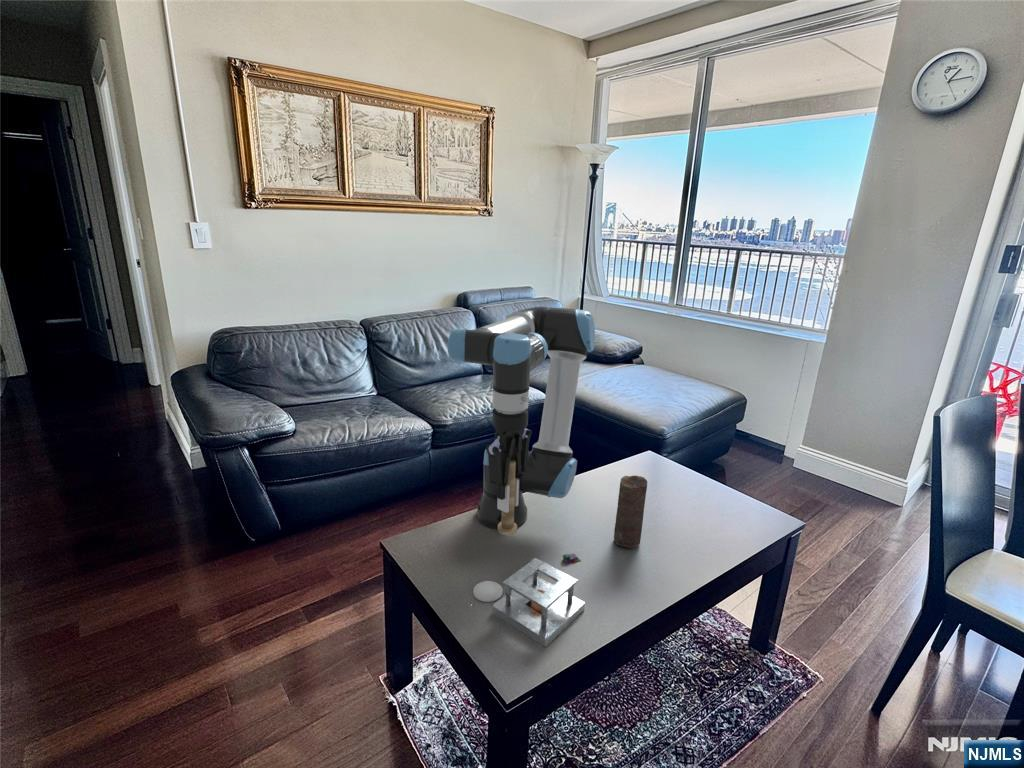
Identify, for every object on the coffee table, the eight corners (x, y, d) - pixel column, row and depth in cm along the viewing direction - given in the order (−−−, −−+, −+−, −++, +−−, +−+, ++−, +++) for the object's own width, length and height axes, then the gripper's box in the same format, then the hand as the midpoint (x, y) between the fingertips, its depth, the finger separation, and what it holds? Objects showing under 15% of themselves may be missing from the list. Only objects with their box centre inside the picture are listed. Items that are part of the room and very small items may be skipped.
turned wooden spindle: (493, 530, 117) (495, 462, 112) (505, 522, 121) (507, 455, 116) (509, 537, 115) (511, 468, 110) (520, 529, 118) (523, 461, 113)
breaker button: (527, 610, 118) (528, 595, 117) (537, 602, 121) (538, 587, 120) (540, 618, 116) (541, 603, 115) (549, 609, 119) (550, 594, 118)
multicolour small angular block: (569, 567, 135) (569, 559, 135) (563, 560, 138) (563, 553, 137) (582, 562, 137) (582, 555, 137) (576, 556, 140) (576, 549, 139)
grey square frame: (492, 612, 118) (493, 582, 115) (533, 581, 129) (534, 552, 126) (545, 647, 109) (547, 614, 106) (584, 609, 120) (586, 579, 117)
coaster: (467, 592, 124) (467, 591, 124) (487, 578, 129) (487, 577, 129) (488, 606, 120) (488, 605, 120) (508, 591, 125) (508, 590, 125)
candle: (640, 553, 141) (648, 487, 136) (613, 549, 143) (619, 483, 137) (639, 537, 148) (647, 474, 143) (613, 534, 150) (619, 471, 144)
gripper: (501, 423, 101) (498, 528, 108) (546, 402, 113) (541, 498, 120) (472, 414, 105) (471, 515, 112) (518, 395, 117) (515, 488, 124)
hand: (507, 506), depth 116 cm, fingers closed on turned wooden spindle, 3 cm apart
